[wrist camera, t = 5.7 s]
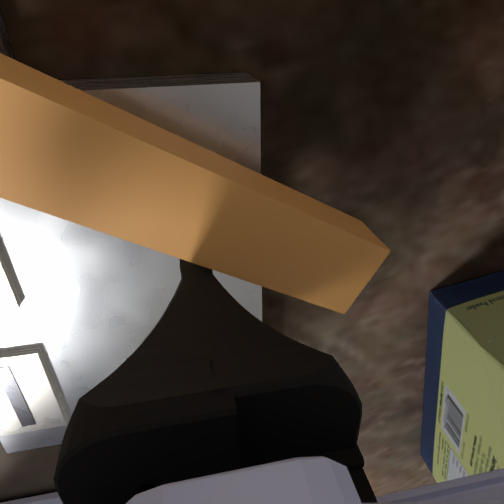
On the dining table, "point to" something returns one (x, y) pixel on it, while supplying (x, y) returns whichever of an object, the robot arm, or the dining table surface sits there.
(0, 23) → the grey flat piece
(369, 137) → the dining table surface
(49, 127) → the swing arm
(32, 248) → the chassis
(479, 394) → the protein box
